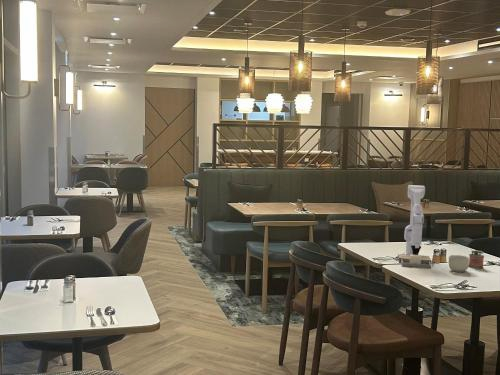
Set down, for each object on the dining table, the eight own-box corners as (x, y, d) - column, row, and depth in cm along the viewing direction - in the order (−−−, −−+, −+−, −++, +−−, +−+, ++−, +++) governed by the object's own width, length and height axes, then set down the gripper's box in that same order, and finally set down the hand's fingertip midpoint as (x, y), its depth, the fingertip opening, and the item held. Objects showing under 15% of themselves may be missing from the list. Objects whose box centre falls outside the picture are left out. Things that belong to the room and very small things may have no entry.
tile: (410, 254, 347) (410, 256, 345) (421, 255, 346) (421, 256, 344) (409, 262, 349) (409, 263, 347) (420, 262, 348) (420, 264, 346)
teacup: (470, 273, 330) (472, 259, 329) (451, 272, 330) (452, 258, 329) (462, 267, 344) (463, 254, 343) (443, 267, 344) (444, 253, 343)
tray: (400, 262, 352) (401, 259, 351) (429, 264, 349) (429, 261, 348) (401, 266, 342) (402, 262, 342) (431, 268, 339) (431, 264, 339)
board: (397, 257, 364) (398, 253, 364) (428, 260, 361) (428, 256, 361) (399, 262, 352) (399, 258, 352) (430, 264, 349) (431, 260, 348)
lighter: (467, 267, 346) (469, 250, 345) (468, 266, 349) (470, 249, 348) (482, 269, 342) (484, 251, 341) (483, 268, 345) (484, 250, 344)
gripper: (408, 232, 357) (407, 255, 358) (410, 236, 343) (409, 260, 344) (420, 233, 356) (419, 256, 357) (423, 237, 342) (421, 261, 343)
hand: (415, 258), depth 351 cm, fingers closed
